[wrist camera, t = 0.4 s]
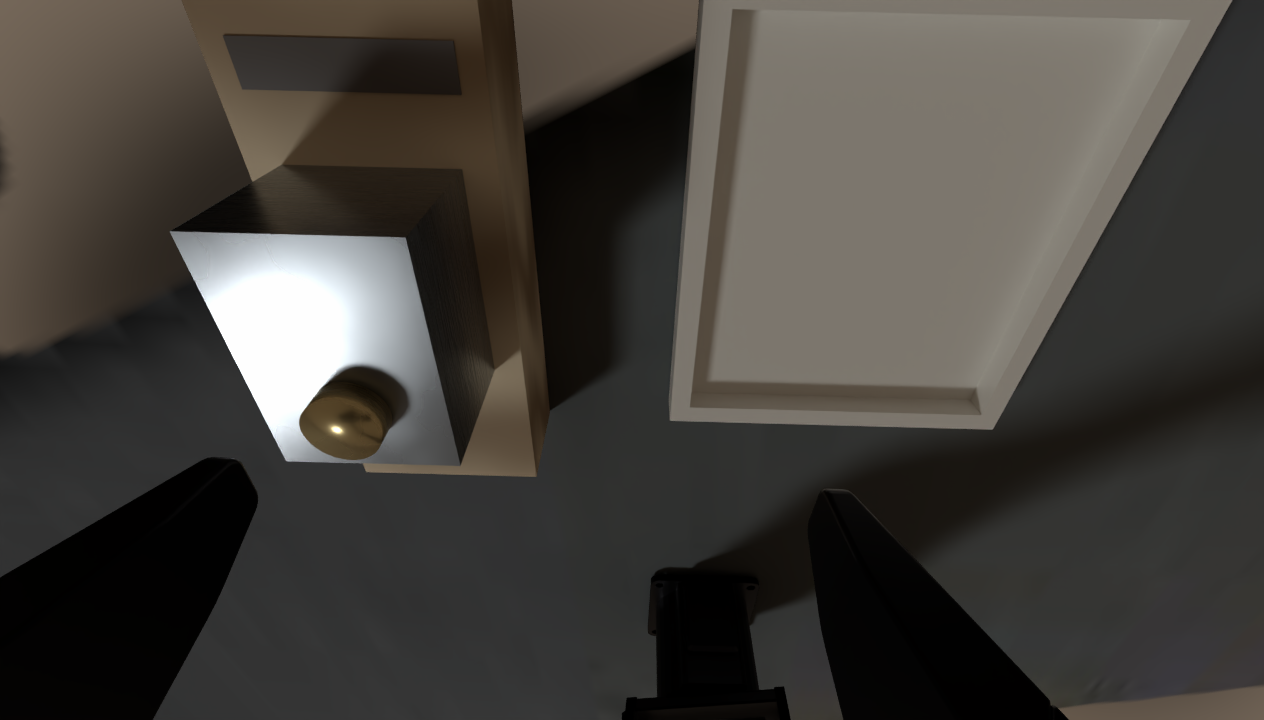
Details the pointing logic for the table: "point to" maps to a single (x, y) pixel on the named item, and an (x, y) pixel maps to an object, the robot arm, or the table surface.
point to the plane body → (404, 151)
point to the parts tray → (904, 195)
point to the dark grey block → (350, 309)
